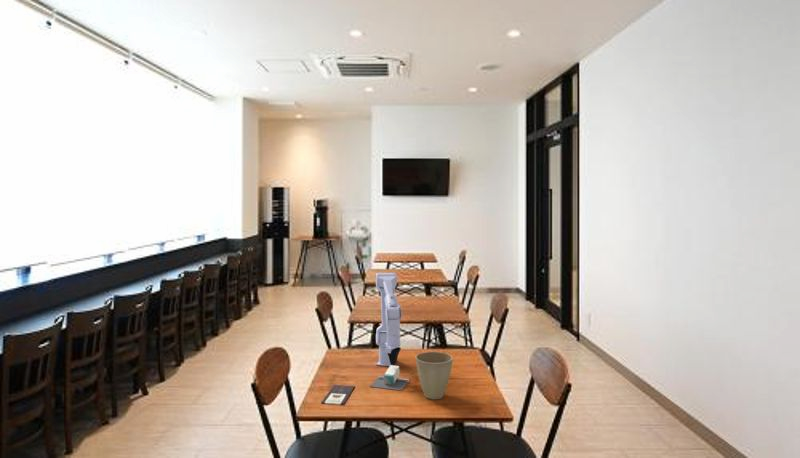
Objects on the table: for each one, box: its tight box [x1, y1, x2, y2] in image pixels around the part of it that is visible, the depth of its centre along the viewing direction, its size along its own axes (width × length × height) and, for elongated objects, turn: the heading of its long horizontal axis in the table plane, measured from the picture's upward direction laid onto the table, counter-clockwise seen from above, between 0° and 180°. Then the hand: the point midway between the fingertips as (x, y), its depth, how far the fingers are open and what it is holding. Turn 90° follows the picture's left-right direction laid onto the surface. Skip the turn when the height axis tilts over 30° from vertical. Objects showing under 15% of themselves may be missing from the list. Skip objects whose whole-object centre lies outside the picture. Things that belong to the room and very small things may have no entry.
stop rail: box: [376, 375, 410, 383], centre depth 214 cm, size 2×14×1 cm, turn 73°
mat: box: [369, 379, 409, 392], centre depth 209 cm, size 9×14×1 cm, turn 73°
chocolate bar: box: [321, 384, 355, 406], centre depth 198 cm, size 9×1×18 cm
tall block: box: [383, 365, 400, 385], centre depth 212 cm, size 4×4×9 cm
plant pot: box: [415, 351, 454, 400], centre depth 197 cm, size 15×15×16 cm
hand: (393, 364), depth 214 cm, fingers closed
